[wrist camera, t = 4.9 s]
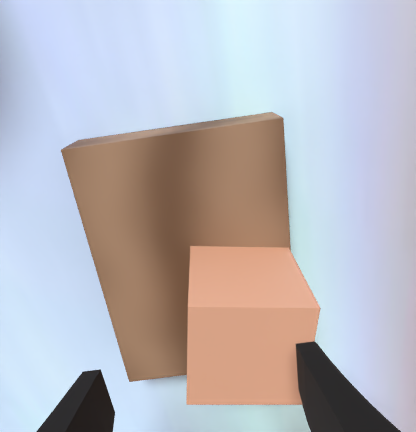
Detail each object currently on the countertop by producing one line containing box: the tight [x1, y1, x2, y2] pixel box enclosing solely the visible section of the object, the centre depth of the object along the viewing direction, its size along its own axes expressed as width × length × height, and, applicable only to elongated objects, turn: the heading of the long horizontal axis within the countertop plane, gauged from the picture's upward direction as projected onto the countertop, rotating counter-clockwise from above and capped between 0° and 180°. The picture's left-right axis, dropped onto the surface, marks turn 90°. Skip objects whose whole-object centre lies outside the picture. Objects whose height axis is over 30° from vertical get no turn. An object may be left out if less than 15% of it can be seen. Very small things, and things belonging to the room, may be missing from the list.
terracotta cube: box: [187, 246, 320, 405], centre depth 17 cm, size 5×5×5 cm
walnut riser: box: [61, 112, 291, 382], centre depth 19 cm, size 10×14×2 cm
